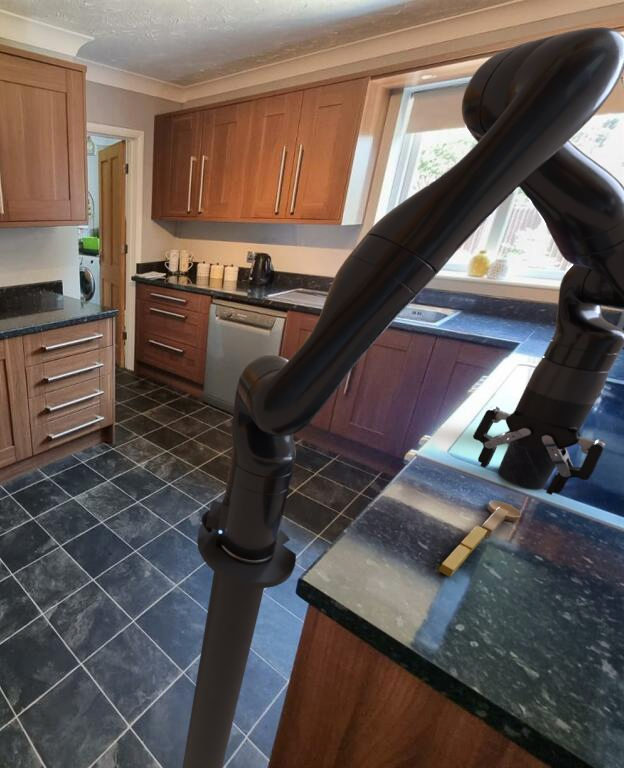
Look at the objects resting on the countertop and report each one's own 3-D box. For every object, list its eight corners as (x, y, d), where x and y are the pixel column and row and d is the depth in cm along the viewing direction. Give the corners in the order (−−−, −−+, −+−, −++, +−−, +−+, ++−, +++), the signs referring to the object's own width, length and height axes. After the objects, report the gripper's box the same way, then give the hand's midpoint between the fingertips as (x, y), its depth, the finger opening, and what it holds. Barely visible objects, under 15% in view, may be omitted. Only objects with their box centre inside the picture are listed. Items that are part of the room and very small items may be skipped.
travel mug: (537, 495, 81) (588, 402, 73) (489, 474, 87) (530, 386, 79) (551, 482, 85) (600, 393, 77) (504, 463, 91) (544, 378, 83)
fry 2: (468, 555, 67) (472, 548, 67) (457, 549, 68) (461, 542, 68) (484, 537, 71) (487, 530, 70) (473, 531, 72) (476, 525, 71)
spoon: (499, 543, 70) (503, 535, 69) (468, 527, 73) (471, 520, 72) (522, 515, 76) (525, 508, 75) (491, 501, 79) (495, 494, 79)
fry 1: (450, 577, 63) (453, 570, 63) (438, 570, 64) (441, 563, 64) (467, 557, 67) (471, 550, 66) (456, 551, 68) (459, 544, 67)
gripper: (494, 379, 67) (456, 464, 74) (626, 416, 56) (568, 511, 63) (509, 370, 71) (472, 451, 78) (635, 402, 60) (580, 493, 67)
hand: (515, 478), depth 70 cm, fingers open, 8 cm apart
